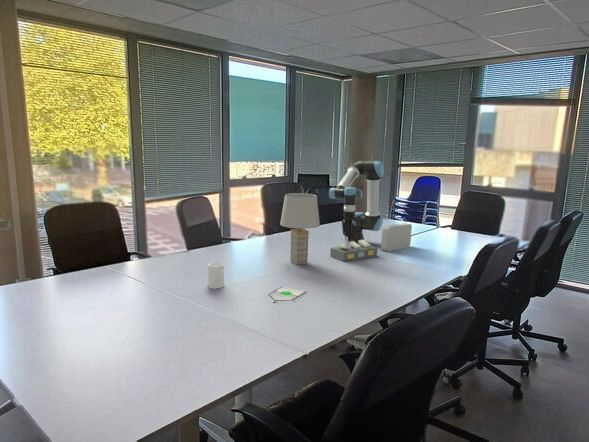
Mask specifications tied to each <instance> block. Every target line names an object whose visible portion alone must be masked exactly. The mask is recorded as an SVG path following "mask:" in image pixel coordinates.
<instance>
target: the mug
mask: <svg viewBox="0 0 589 442" xmlns="http://www.w3.org/2000/svg"><path fill="white" fill-rule="evenodd" d="M224 267H225V265H224V263H223V262H219V261H217V262H215V261H214V262H213V261H212V262H209V263H208V264H207V275H208V276H207V277H208V278H207V279H208V280H207V282H208V283H207V287H208V288H209V289H212V288H213V289H214V290H217V289H216V288H219V289H222V287H223V288H224V287H225V280H224V279H225V278H224V277H225V268H224Z"/></svg>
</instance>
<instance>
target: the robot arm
mask: <svg viewBox="0 0 589 442" xmlns="http://www.w3.org/2000/svg"><path fill="white" fill-rule="evenodd" d="M384 175H385V166H384V164H383V162H382V161H379V160H363V159H362V160H358V161H355V162H354V163H352V164H351V165H350V166H349V167H348V168H347V171H346V173H345V175H344V176H343V177H342V178H341V180H340V181H339V183H338V184H337V186H336V187H331V188H329V191H328V196H329V198H330V199H333V200H343V201H344V202H343V215H342V216H343V217H344V218H343V219H342V220H341V228H342V234H343V235H344V245H345V246H347V247H348V246H350V242H351V241H354V242H356V243H357V244H359V243H358V240H364V241H365V238H364V233H363V230H365V231H372V232H379V231H381V229H382V225H383V221H384V218H383V216H382V215H381V212H380V211H379V207H380V205H379V203H380V198H379V196H380V194H379V193H380V181H381V180H382V178H383V177H384ZM359 177H365V181H366V183H367V186H366V187H367V188H366V189H367V191H366V193H367V194H366V196H367V200H366V201H367V202H366V205H367V207H366V212H365V213H364V212H363V211H362V212H361V211H360V212H358V211H357V212H356V206H357V205H356V203H357V202H358V201H359V200H360V201H361V199H362V198H363V191H362V190H360V189H359V188H357V187H355V186H354V187H351V185H352V184H353V182H354V181H355V180H356V179H358V178H359Z"/></svg>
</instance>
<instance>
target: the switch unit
mask: <svg viewBox="0 0 589 442" xmlns="http://www.w3.org/2000/svg"><path fill="white" fill-rule="evenodd" d="M357 244H358V245H360V246H361V247H360V249H355V248H353V247H352V246H351V248H346V249H345V248H338V246H336V247H330V255H329V257H330V258H333V259H336V260H338V261H341V262H344V263H345V262H350V261H355V260H361V259H367V258H372V257H377V256H378V247H376V246H373V245H372V244H370V247H366V248H365V247H364V246H362V245H361V244H360V243H357Z"/></svg>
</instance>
